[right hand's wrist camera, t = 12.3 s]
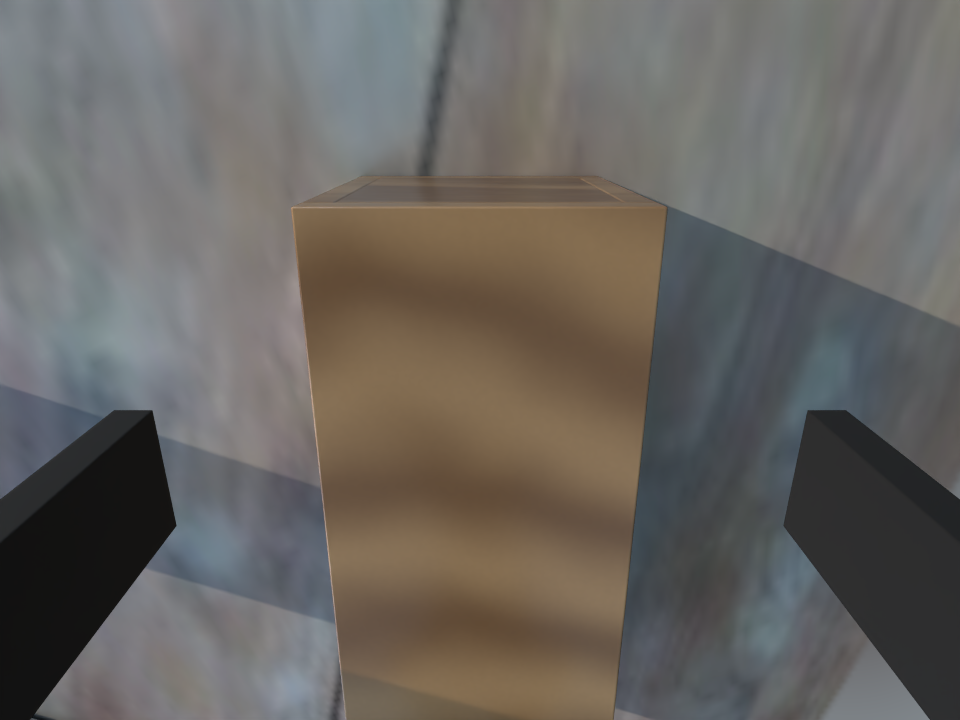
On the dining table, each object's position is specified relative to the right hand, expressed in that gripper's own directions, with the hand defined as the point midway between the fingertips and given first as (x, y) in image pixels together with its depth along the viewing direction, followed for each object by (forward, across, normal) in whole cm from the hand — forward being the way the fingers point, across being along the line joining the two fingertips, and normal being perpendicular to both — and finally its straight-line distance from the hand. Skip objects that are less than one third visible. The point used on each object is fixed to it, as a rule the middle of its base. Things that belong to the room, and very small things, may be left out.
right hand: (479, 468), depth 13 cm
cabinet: (+19, 0, -6) cm, 20 cm away
